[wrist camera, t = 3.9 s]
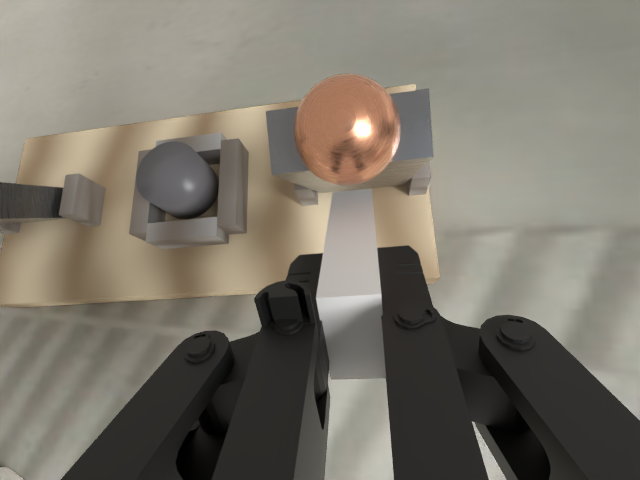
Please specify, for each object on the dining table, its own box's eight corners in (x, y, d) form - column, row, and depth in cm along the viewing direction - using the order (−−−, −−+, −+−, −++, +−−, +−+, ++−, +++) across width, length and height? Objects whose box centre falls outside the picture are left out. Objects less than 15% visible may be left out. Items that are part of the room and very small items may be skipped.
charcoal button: (220, 158, 24) (201, 137, 21) (217, 216, 23) (197, 200, 20) (164, 165, 24) (139, 145, 22) (158, 221, 23) (132, 207, 21)
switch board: (413, 102, 26) (418, 56, 22) (435, 283, 22) (446, 269, 18) (47, 151, 31) (-6, 121, 26) (16, 307, 27) (-51, 301, 23)
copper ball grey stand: (399, 143, 22) (437, 39, 9) (403, 195, 23) (446, 170, 9) (319, 152, 23) (243, 69, 10) (323, 203, 23) (255, 189, 10)
